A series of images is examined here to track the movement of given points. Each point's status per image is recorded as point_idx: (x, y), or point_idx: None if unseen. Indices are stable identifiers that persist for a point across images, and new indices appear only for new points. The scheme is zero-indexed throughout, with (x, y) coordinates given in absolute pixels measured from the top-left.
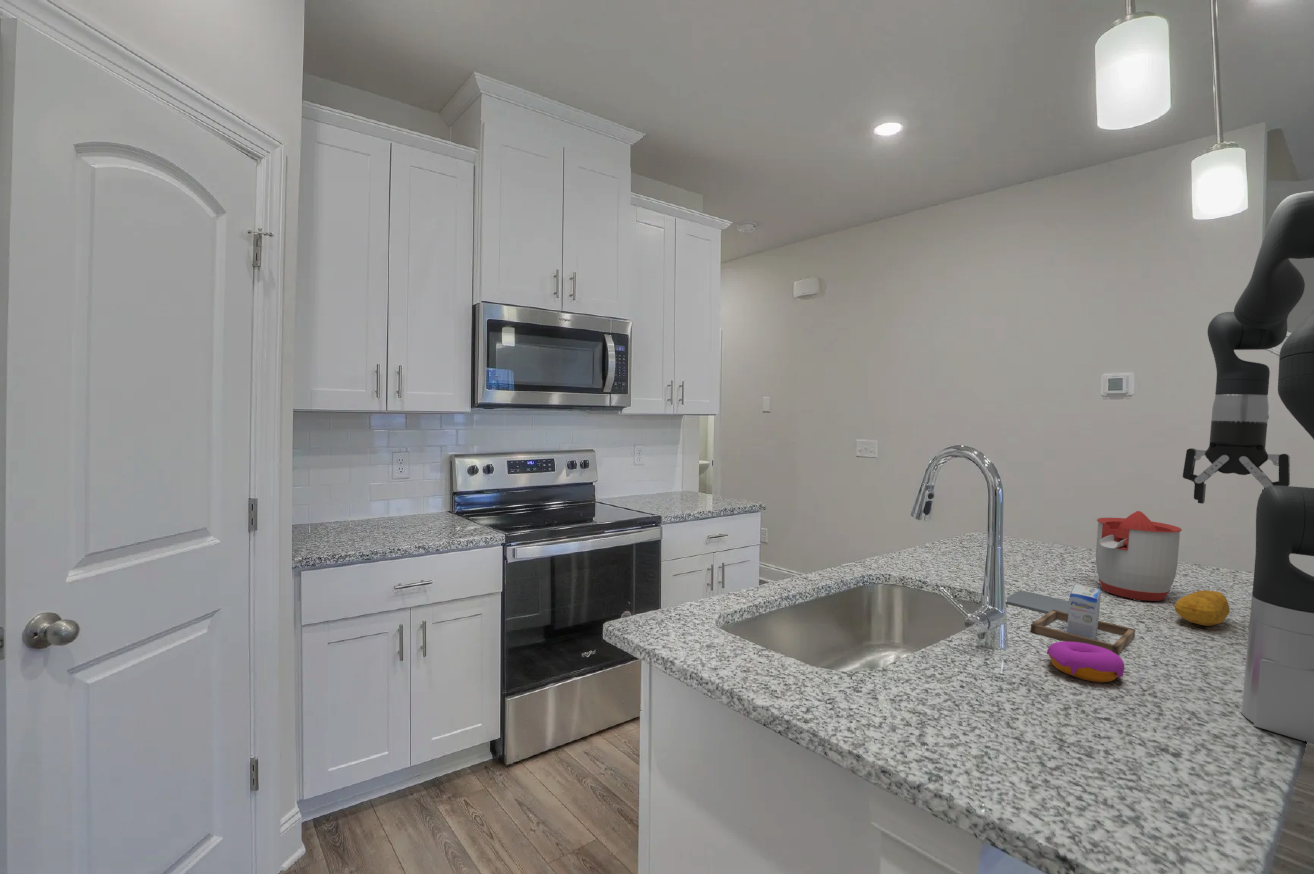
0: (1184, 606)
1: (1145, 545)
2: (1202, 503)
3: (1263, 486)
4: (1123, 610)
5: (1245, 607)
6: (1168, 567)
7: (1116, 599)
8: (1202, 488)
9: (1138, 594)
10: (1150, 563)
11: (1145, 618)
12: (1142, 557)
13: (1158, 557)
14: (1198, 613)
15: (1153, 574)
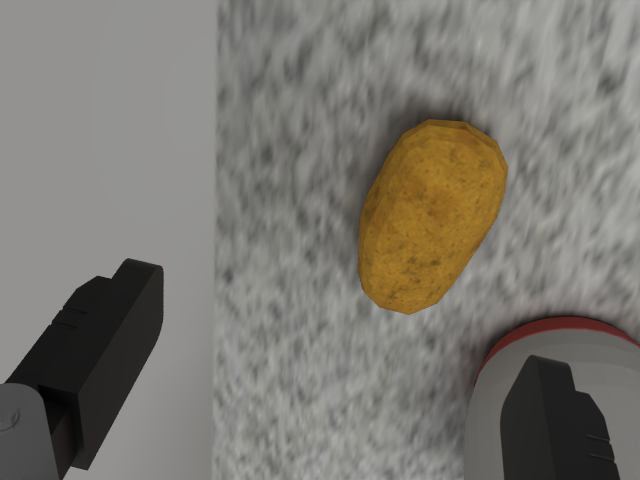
0: (488, 146)
1: None
2: (530, 356)
3: (46, 419)
4: (634, 186)
5: (310, 399)
6: (498, 408)
7: (624, 296)
8: (563, 473)
9: (566, 323)
10: None
11: (582, 138)
12: None
13: None
14: (450, 123)
15: None
